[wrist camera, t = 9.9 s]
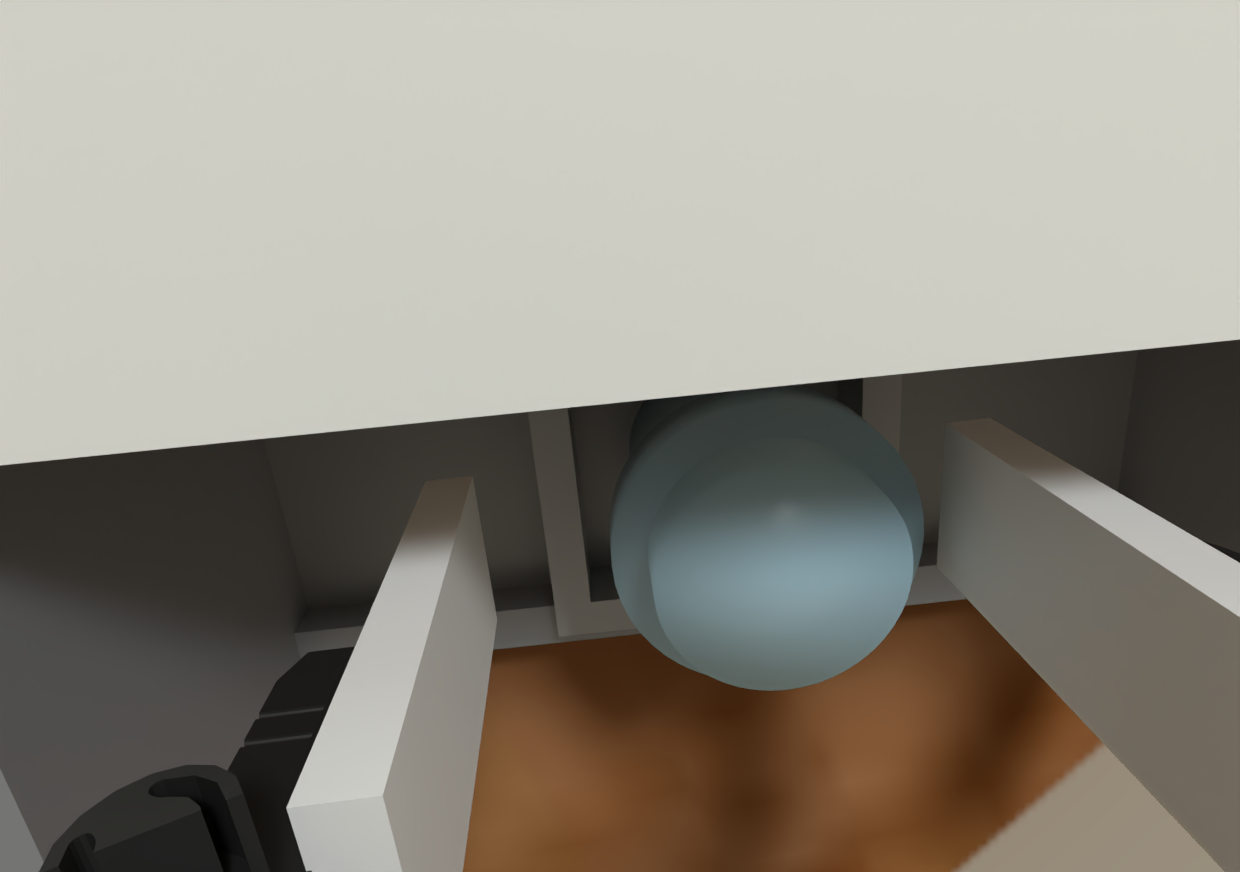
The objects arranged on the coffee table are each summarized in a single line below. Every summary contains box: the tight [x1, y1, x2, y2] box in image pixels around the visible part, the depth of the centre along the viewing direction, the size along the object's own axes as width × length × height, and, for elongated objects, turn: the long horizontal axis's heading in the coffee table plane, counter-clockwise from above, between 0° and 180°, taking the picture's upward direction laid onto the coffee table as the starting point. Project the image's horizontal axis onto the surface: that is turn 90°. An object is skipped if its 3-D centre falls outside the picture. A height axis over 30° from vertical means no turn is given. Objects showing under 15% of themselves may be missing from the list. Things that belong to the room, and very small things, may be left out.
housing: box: [0, 339, 1240, 872], centre depth 12 cm, size 22×16×10 cm
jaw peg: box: [609, 385, 924, 691], centre depth 14 cm, size 5×5×6 cm
